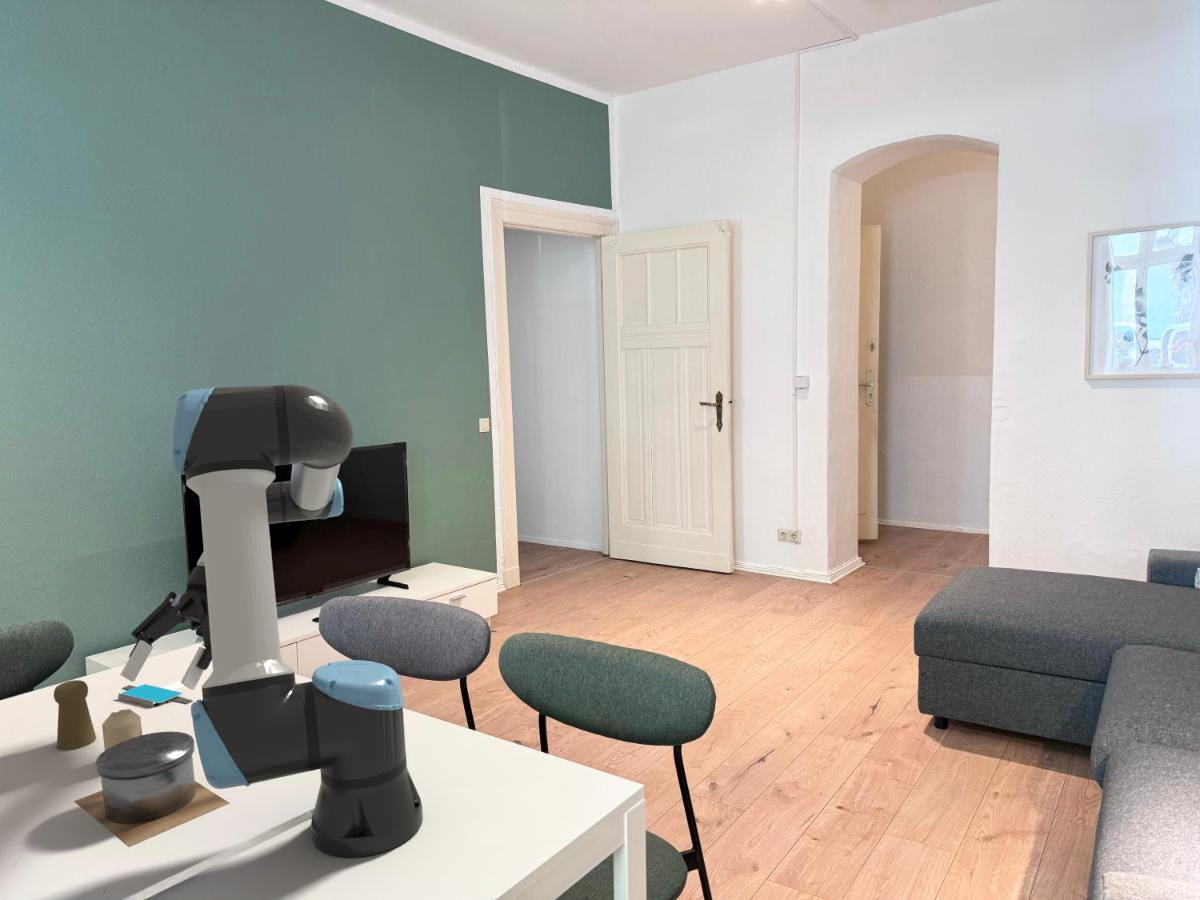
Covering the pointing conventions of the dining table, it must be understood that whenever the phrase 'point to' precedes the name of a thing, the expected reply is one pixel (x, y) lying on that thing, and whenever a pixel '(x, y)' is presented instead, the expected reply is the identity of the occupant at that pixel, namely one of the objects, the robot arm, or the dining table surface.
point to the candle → (121, 727)
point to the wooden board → (143, 831)
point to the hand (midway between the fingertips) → (156, 682)
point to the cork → (73, 716)
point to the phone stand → (153, 694)
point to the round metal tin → (147, 777)
